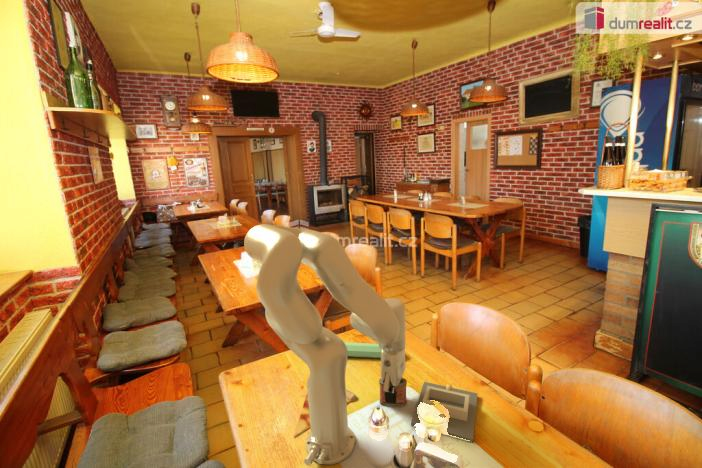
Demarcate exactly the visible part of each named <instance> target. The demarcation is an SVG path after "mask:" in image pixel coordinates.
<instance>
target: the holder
mask: <svg viewBox="0 0 702 468" xmlns="http://www.w3.org/2000/svg"><path fill="white" fill-rule="evenodd" d="M430 400H435V401H438V402H440V403H439V404H441V405H443V406H444V407H445V408H446V409H448V411H449V415H450V418H449V422H448V428H447V432H448V434H449V435H452V436H456V437H459V438H463V439H466V440H470V441H473V442H474V436H475V425H476V417H475V416H477V405H478V392H473V391H469V390H463V389H459V388H455V387H453V385H452V384H451V383H447V384H446V385H441V384H436V383H432V382H431V383H430V382H428V381H424V382H423V383H422V387H421V390H420V393H419V396H418V400H417V401H416V402H417V403H416V406H415V408H414V412H413V414H412V418H411V421H410V427H413V426H414V425H415V424H416V423H420V420H419V418H418V414H417V407H418V405H419V404H420V402H422V403H423V402H424V403H426V404H429V405H435V404H434V403H433V402H434V401H430ZM439 416H440V417H442V418H443V417H444V418H445V417H446V416H445V415H444V414H440V415H439Z"/></svg>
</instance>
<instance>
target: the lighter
mask: <svg viewBox="0 0 702 468" xmlns="http://www.w3.org/2000/svg"><path fill="white" fill-rule="evenodd" d="M390 381H391V380H390ZM378 384H379V404H380V406H384V407H393V408H395V407H396V408H397V407H398V408H399V407H406V406H407V403H408V402H407V401H408V400H407V379H406V378H404V377H402V378H401V381H400V383H399V385H398V386H395V391H396V404H392V403H388V402H386V401H385V391H383V389H384V383H382V381H381V377H380V378H379V379H378ZM389 387H391V388H392V385H391V384H390V385H389ZM405 405H406V406H405Z"/></svg>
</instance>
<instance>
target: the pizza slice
mask: <svg viewBox="0 0 702 468" xmlns="http://www.w3.org/2000/svg"><path fill="white" fill-rule="evenodd" d="M356 399H357V395H356V394H355V393H353V392H352V391H350V390H348V389H346V401H347V404H349V403H351V402H352V401H354V400H356ZM308 429H311V427H310V415H309V403H308V394H307V393H306V395H305V399H304V402H303V405H302V408H301V412H300V415H299V419H298V422H297V425H296V429H295V432H294V434H293V435H294V436H293V439H295V438H297V436H299V435H301V434H303V433H304V432H306V431H307V430H308Z"/></svg>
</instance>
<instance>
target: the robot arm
mask: <svg viewBox="0 0 702 468" xmlns="http://www.w3.org/2000/svg"><path fill="white" fill-rule="evenodd" d="M243 242H244V243H243V245H244V250H245V252H246V254H247V255H248V256H249V257H250V258H251V259H253V260H254V261H256V262H258V263H259V264H261V265H260V268H259V271H258V274H257V275H258V276H257V279H256V280H257V281H256V294H257V297H258V299H259V301H260V303H261V304H262V306H263V307H264V309H265V313H264V314H265V319H266V321H267V324H268V325H269V326H270V328H271V329H272V330H273V331H274V332H275V334H276V335H277V336H278V337H279V338H280V339H281V341H283V343H284V344H285V346H286V347H288V349H290V351H291V352H292V353H293V354H295V355H296V356H297V357H298V358H300V360H301V361H302V362H303V363H305V364H306V365H307V367H308V368H309V376H308V378H307V382H306V383H307V384H306V395H307V394H308V403H309V415H310V432H309V433H308V435H307V437H306V439H305V440H306V441H305V449H306V453H307V455H306V457H305V458H304V460H303V462H304V464H305V465H306V466H308V467H311V466H312V464H313V462H317V464H319V465H334V464H338V463H341V462H342V461H344V460H346V459H347V458H349V456H350V455H351V454H352V452H353V451H354V449H355V435H354V432H353V431H352V429H351V428H350V427H349V423H348V422H349V421H348V407H347V406H348V405H347V401H346V390H347V387H346V386H347V385H346V372H347V371H346V369H347V364H348V363H347V362H348V358H349V357H348V351H347V347H346V345H345V343H344V342H345V341H343V339H342V338H341V337H340V336H338V335H337V334H336V333H335V332H333V331H331V330H330V329H328V328H326V327H325V326H323V319H322V317H321V314H320V312H319V311H318V309H317V307H315V305H314V304H313V302H311V300H310V299H309V298H308V296H307V295H306V293H305V292H304V291H303V288H302V287H301V286H300V283H299V281H298V273H299V270H300V267H301V264H304V265H305V266H307V267H309V268H311V270H312V271H314V273H315V274H316V276H317V277H318V278H319V280H320V282H321V283H322V284H323V286H325V289H326V290H327V291H328V292H329V293H330V295H331V296H332V298H333V299H334V300H335V301H337V302H338V304H340V305H341V306H343V307H344V308H345V309H347V310H348V311H350V312H351V314H350V316H349V321H350V322H349V324H350V325H351V326H352V328H353V329H354V330H355V331H357V332H358V333H360V334H362V335H363V336H365V337H368V338H369V339H370V340H372V341H375V342H376V344H379V348H380V349H381V350H382V352H381V358H380V378H381V381H382V383H384V389H383V391H385V401H386V402H388V403H392V404H396V391H395V386H398V385H399V383H400V381H401V378H403V375H404V373H405V371H406V352H405V351H406V350H405V349H406V306H405V303H404V302H403V300H401V299H399V298H395V297H394V298H393V297H388V298H383V296H381V295H380V293H378V292H377V291H376V290H375V289H374V288H373V286H372V285H370V284H369V282H367V281H366V280H365V279H364V278H363V277H362V275H361V274H360V273H359V271H358V269H357V267H356V266H355V265H354V263H353V261H352V260H351V259H350V257H349V255H348V253H347V252H346V249H344V247H343V246H342V244H341V243H340V242H339V240H338V239H337V238H336V237H335V236H334V235H333V236H332V235H331V234H328V233H325V232H320V231H317V230H313V229H308V228H307V229H306V228H298V227H291V226H282V225H274V224H268V223H261V224H258V225H255V226H253V227H252V228H250V229H249V230H248V232H247V233H246V235H245V237H244V241H243ZM390 380H391V381H390ZM390 384H391V385H392V388H391V387H389V385H390Z"/></svg>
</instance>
